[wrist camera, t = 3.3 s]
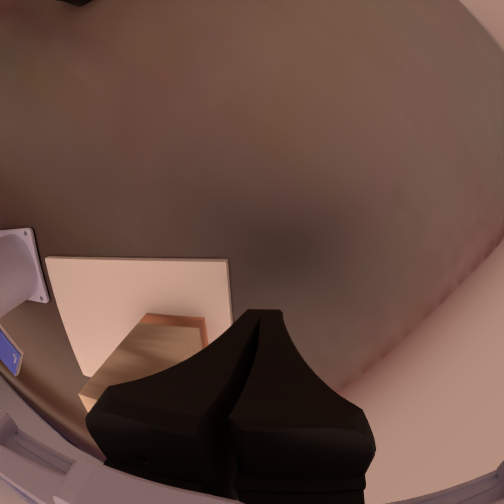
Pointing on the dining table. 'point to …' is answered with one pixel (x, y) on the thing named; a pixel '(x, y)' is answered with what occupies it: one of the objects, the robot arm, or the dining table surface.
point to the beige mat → (134, 298)
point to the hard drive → (10, 352)
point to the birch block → (147, 352)
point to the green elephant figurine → (76, 2)
